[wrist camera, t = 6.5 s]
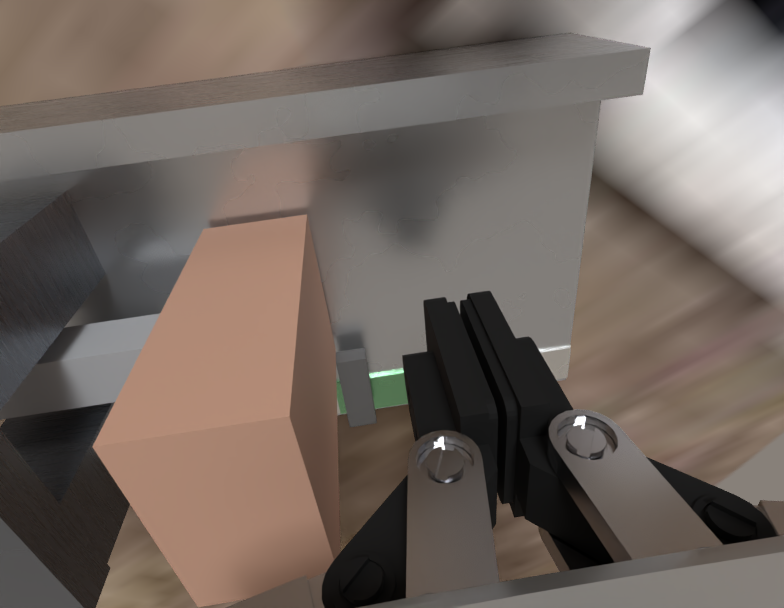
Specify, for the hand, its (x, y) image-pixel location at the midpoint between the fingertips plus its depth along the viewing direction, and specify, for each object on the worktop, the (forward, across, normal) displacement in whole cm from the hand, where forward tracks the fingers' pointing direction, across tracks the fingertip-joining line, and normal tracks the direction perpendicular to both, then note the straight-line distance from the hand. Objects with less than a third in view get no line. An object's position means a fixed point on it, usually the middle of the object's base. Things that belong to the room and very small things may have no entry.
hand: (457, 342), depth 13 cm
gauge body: (+6, +4, 0) cm, 8 cm away
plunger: (+4, +10, +2) cm, 11 cm away
